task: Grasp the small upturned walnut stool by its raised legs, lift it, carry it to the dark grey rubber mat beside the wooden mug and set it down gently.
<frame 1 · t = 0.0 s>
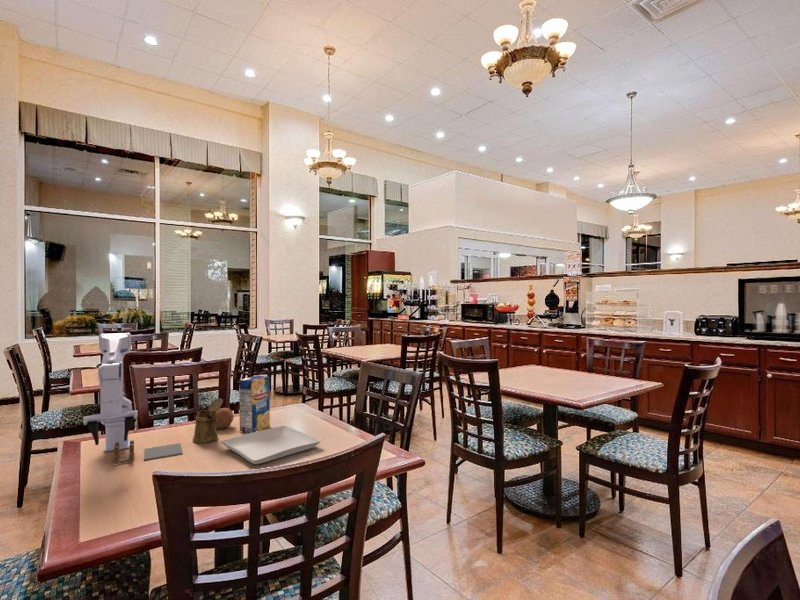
hand: (111, 442, 139), 10 cm above the table, tool pointing down, fingers open, 7 cm apart
stool: (124, 460, 150), on the table
square plate: (271, 450, 161), on the table
onion: (222, 428, 187), on the table
wooden mug: (208, 441, 170), on the table
blue yellow food box: (255, 429, 185), on the table
mat: (163, 452, 158), on the table
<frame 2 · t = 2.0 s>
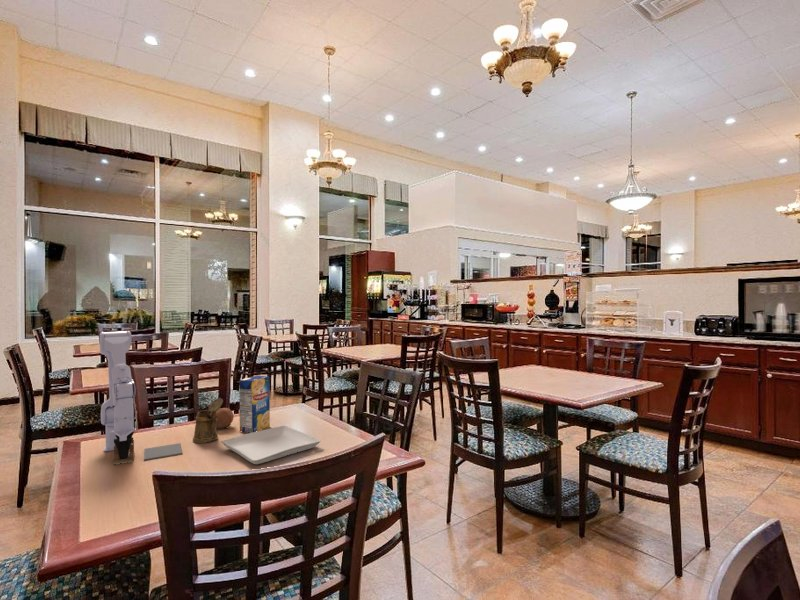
hand: (124, 455, 150), 2 cm above the table, tool pointing down, fingers closed on stool, 5 cm apart
stool: (124, 460, 150), on the table, touching gripper
everything else where it was.
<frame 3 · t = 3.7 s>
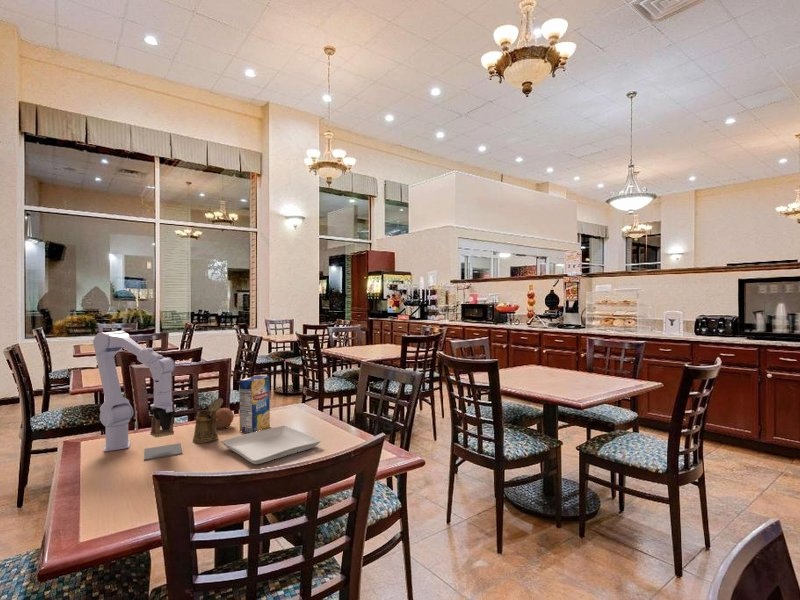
hand: (163, 428, 158), 9 cm above the table, tool pointing down, fingers closed on stool, 6 cm apart
stool: (162, 434, 158), point 7 cm above the table, touching gripper
everything else where it was.
when the fingers open (3 cm above the table, at t = 5.8 s): stool stays where it is, resting on mat.
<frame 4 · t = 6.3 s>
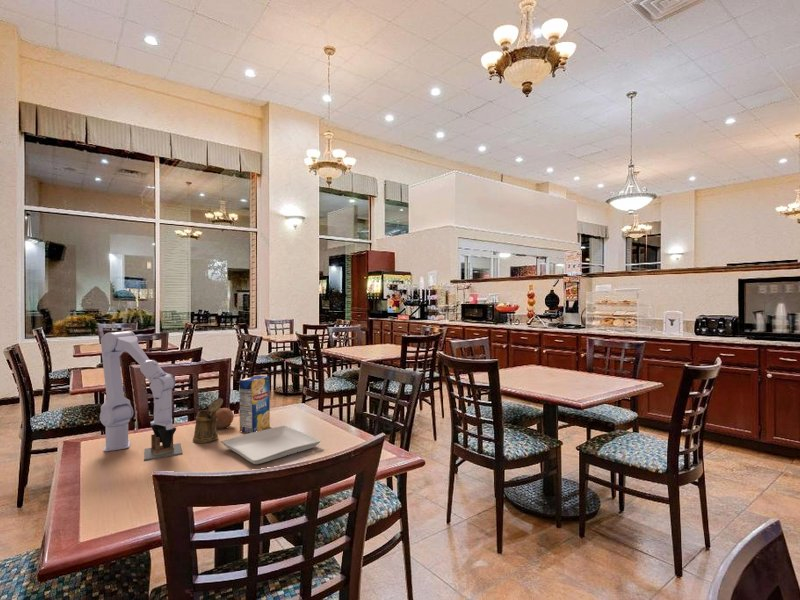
hand: (163, 445, 158), 3 cm above the table, tool pointing down, fingers open, 7 cm apart
stool: (162, 451, 158), resting on mat
everything else where it was.
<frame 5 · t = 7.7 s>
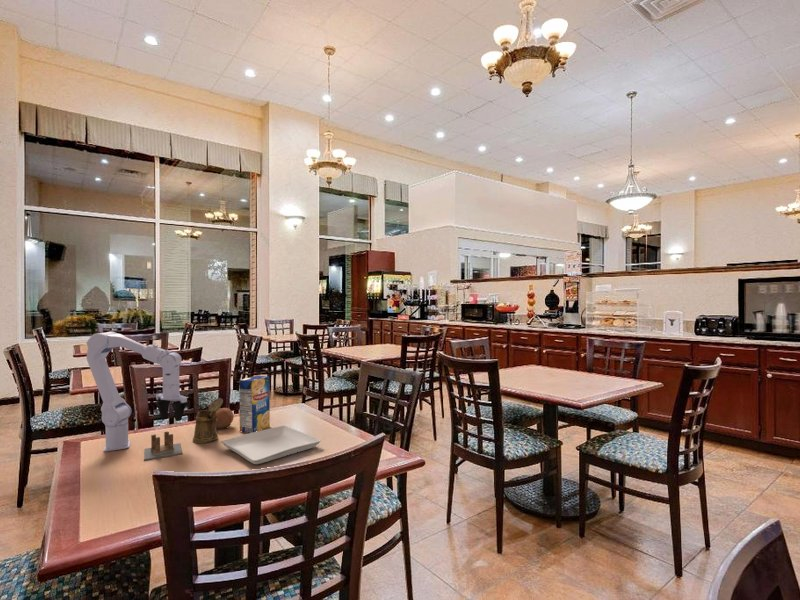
hand: (171, 419, 165), 10 cm above the table, tool pointing down, fingers open, 7 cm apart
nothing on the table moved.
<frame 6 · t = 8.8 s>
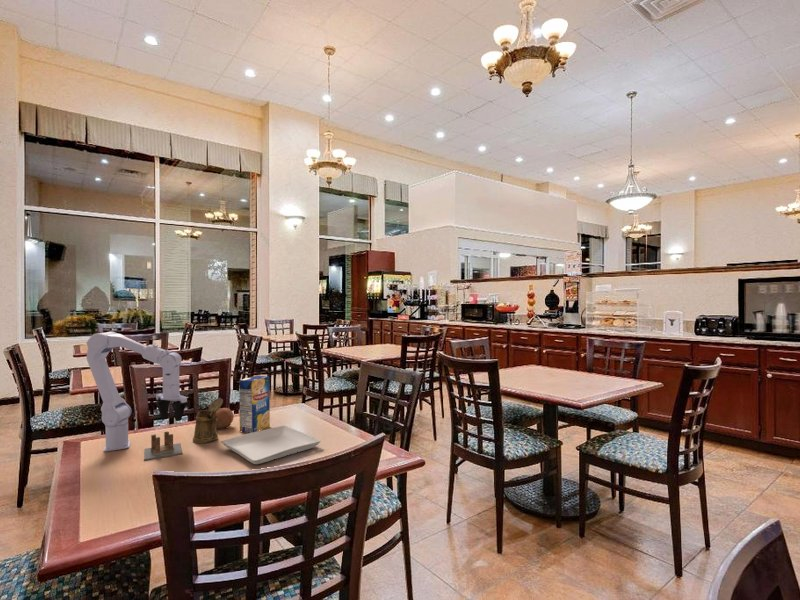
hand: (171, 419, 165), 10 cm above the table, tool pointing down, fingers open, 7 cm apart
nothing on the table moved.
at the end: stool inside the target area on the mat (0.4 cm from its centre), point 0.5 cm above the mat's base; stool tilted 0°; the gripper is holding nothing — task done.
